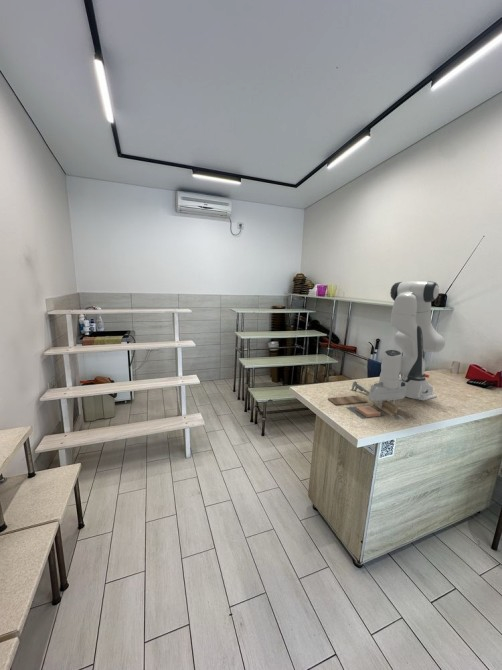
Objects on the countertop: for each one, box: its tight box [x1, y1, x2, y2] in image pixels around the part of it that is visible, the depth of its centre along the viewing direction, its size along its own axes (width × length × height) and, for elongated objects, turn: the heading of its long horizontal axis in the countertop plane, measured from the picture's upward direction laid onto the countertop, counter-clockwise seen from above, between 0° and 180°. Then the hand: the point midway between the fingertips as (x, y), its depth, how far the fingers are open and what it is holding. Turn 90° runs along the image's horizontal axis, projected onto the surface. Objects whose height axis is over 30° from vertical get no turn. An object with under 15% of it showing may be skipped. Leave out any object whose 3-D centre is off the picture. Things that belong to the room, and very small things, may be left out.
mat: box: [346, 405, 386, 420], centre depth 129 cm, size 14×12×1 cm
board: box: [327, 395, 369, 407], centre depth 141 cm, size 20×8×1 cm, turn 106°
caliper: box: [351, 380, 370, 395], centre depth 151 cm, size 20×1×6 cm, turn 33°
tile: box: [355, 405, 382, 418], centre depth 128 cm, size 8×2×8 cm
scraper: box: [373, 400, 405, 420], centre depth 130 cm, size 5×16×5 cm, turn 16°
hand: (385, 407), depth 132 cm, fingers open, 5 cm apart
